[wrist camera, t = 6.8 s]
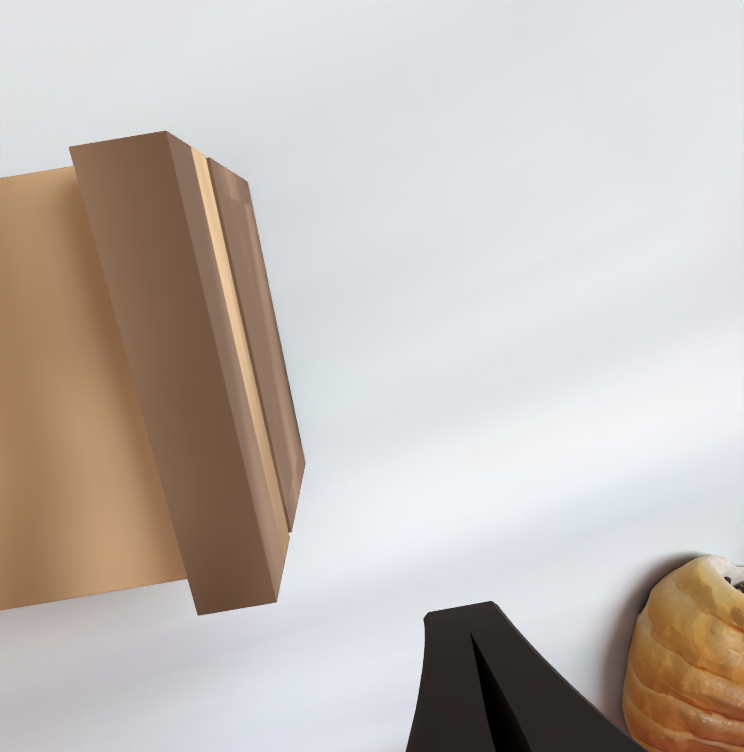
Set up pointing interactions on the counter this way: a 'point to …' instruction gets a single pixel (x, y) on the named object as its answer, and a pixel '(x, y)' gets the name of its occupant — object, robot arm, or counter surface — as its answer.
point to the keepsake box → (260, 331)
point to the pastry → (689, 661)
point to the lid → (128, 388)
